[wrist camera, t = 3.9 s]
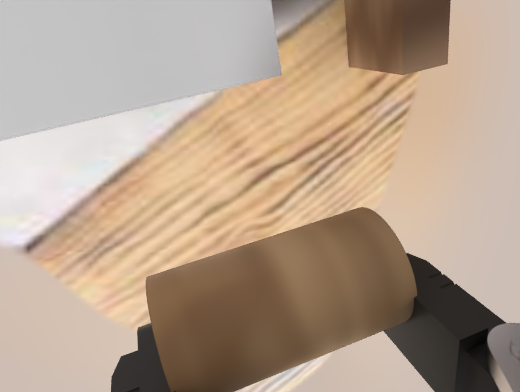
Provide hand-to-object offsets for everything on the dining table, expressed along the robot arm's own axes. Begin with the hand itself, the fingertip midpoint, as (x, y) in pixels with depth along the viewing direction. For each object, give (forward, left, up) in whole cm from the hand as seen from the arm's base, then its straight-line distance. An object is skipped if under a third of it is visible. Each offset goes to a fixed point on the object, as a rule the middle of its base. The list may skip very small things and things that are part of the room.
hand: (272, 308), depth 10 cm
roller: (0, 0, 0) cm, 0 cm away
